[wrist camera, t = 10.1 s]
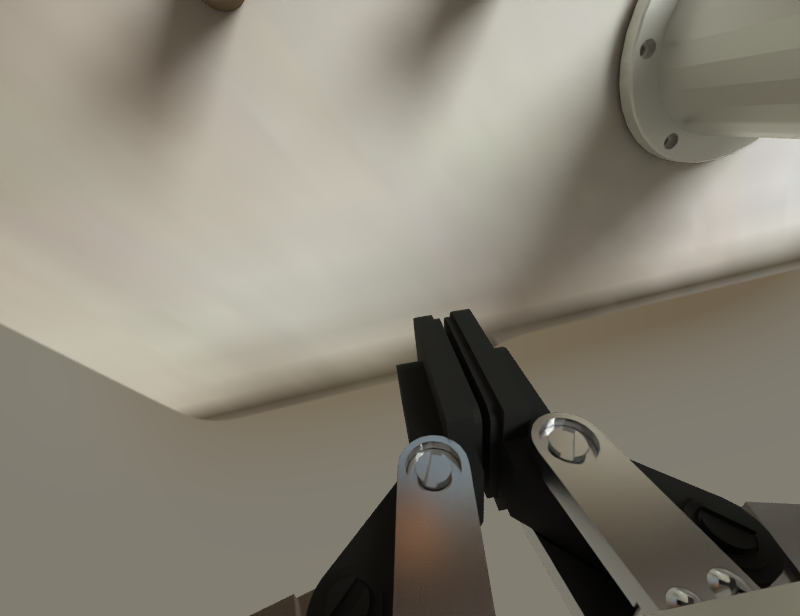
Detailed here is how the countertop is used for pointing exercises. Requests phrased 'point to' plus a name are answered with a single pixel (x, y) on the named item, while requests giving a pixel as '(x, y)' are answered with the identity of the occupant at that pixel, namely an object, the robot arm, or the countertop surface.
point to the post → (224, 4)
